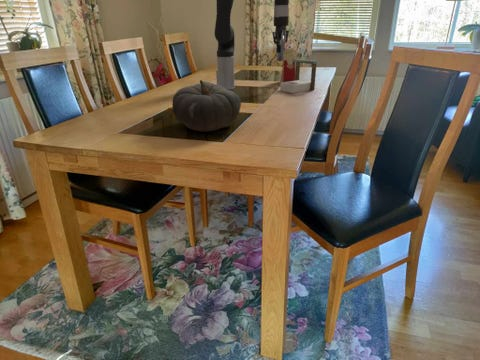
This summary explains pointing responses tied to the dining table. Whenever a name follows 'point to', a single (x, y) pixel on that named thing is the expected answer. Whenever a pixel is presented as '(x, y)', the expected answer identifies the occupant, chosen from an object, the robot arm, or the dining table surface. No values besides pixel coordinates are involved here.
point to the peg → (281, 55)
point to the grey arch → (313, 72)
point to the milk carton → (288, 66)
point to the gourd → (206, 106)
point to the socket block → (295, 86)
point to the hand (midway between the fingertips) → (280, 52)
